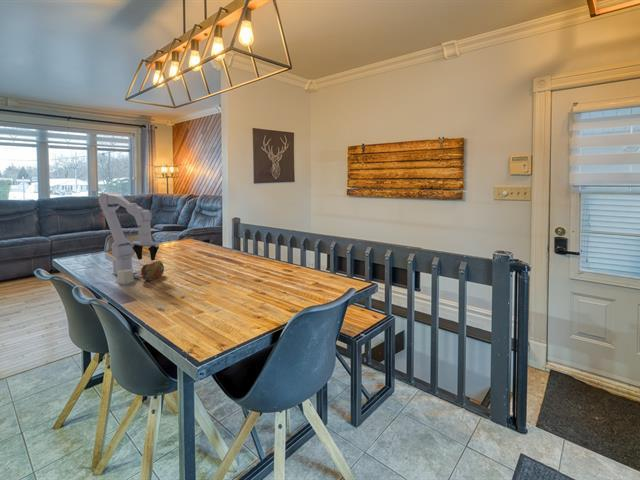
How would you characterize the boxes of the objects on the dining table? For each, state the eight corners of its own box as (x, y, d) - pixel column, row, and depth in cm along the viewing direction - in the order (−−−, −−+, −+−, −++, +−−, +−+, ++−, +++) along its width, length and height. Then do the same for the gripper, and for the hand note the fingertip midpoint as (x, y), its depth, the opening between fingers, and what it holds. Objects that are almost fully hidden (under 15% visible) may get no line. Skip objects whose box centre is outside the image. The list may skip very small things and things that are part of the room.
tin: (146, 282, 177) (144, 266, 176) (140, 282, 178) (139, 265, 176) (164, 274, 192) (163, 259, 190) (159, 274, 192) (158, 259, 191)
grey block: (117, 283, 176) (116, 271, 175) (127, 280, 181) (126, 268, 180) (124, 284, 174) (123, 272, 173) (133, 281, 179) (132, 270, 178)
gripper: (126, 234, 180) (128, 260, 182) (152, 235, 177) (153, 262, 180) (136, 232, 187) (138, 257, 189) (161, 233, 184) (162, 259, 186)
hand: (146, 259), depth 185 cm, fingers open, 7 cm apart
